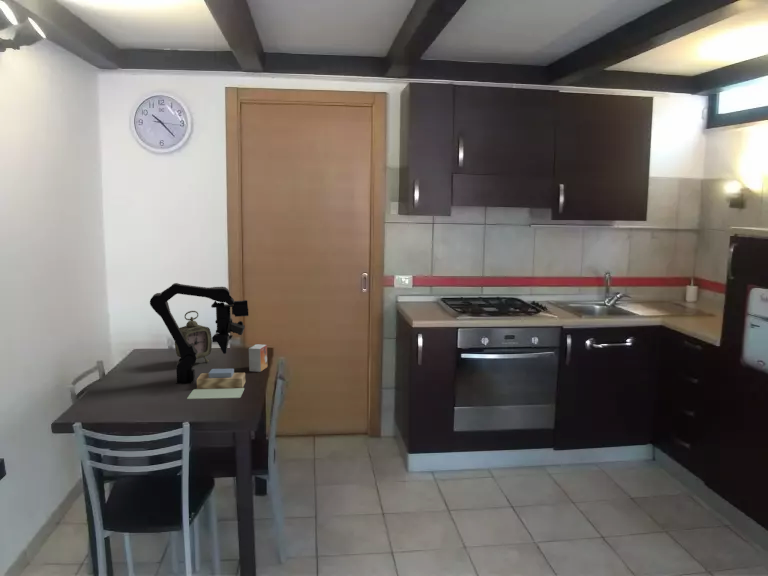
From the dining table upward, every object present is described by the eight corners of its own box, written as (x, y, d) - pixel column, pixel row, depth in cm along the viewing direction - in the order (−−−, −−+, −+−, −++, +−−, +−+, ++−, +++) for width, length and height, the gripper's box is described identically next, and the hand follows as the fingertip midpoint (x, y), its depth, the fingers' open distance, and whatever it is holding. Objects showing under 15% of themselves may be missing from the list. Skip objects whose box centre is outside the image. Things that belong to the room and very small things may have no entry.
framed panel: (197, 388, 236) (196, 379, 235) (201, 382, 244) (201, 373, 243) (242, 388, 237) (242, 378, 237) (245, 381, 245) (245, 372, 245)
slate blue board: (208, 378, 237) (208, 373, 237) (211, 373, 243) (211, 368, 243) (231, 377, 238) (231, 372, 238) (234, 373, 244) (233, 368, 244)
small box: (260, 372, 259) (260, 349, 257) (249, 371, 260) (248, 348, 258) (267, 367, 267) (267, 344, 265) (256, 366, 268) (255, 343, 266)
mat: (186, 399, 224) (186, 398, 224) (193, 389, 235) (193, 389, 235) (240, 398, 226) (240, 397, 226) (244, 388, 237) (244, 388, 237)
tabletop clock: (184, 369, 262) (181, 314, 259) (173, 365, 268) (170, 311, 264) (212, 362, 273) (210, 309, 269) (201, 359, 279) (199, 307, 275)
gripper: (239, 321, 237) (240, 359, 239) (246, 312, 255) (247, 347, 258) (211, 322, 236) (212, 359, 238) (220, 312, 254) (221, 347, 257)
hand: (224, 353), depth 248 cm, fingers closed
